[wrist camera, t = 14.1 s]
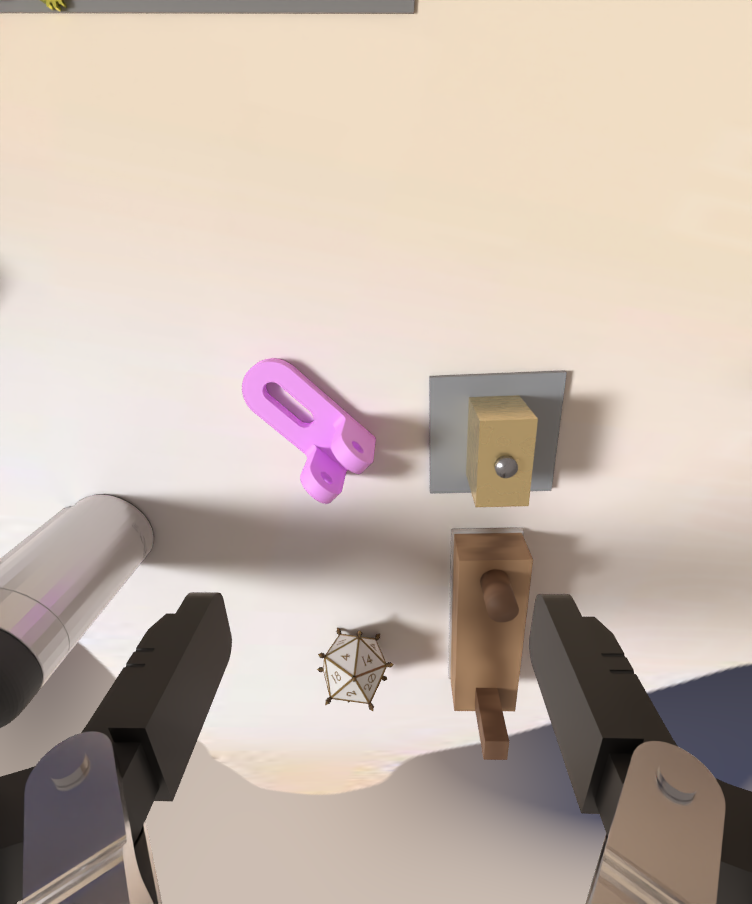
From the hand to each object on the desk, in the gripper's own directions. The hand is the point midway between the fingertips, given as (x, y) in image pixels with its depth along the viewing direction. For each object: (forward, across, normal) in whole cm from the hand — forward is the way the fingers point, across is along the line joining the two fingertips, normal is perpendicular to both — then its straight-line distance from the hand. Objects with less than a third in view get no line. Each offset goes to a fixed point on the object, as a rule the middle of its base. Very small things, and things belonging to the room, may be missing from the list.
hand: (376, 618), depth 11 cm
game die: (+32, +4, +35) cm, 48 cm away
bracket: (+32, +8, +6) cm, 33 cm away
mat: (+31, -10, +8) cm, 34 cm away
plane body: (+32, -10, +30) cm, 45 cm away
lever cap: (+31, -10, +8) cm, 33 cm away
